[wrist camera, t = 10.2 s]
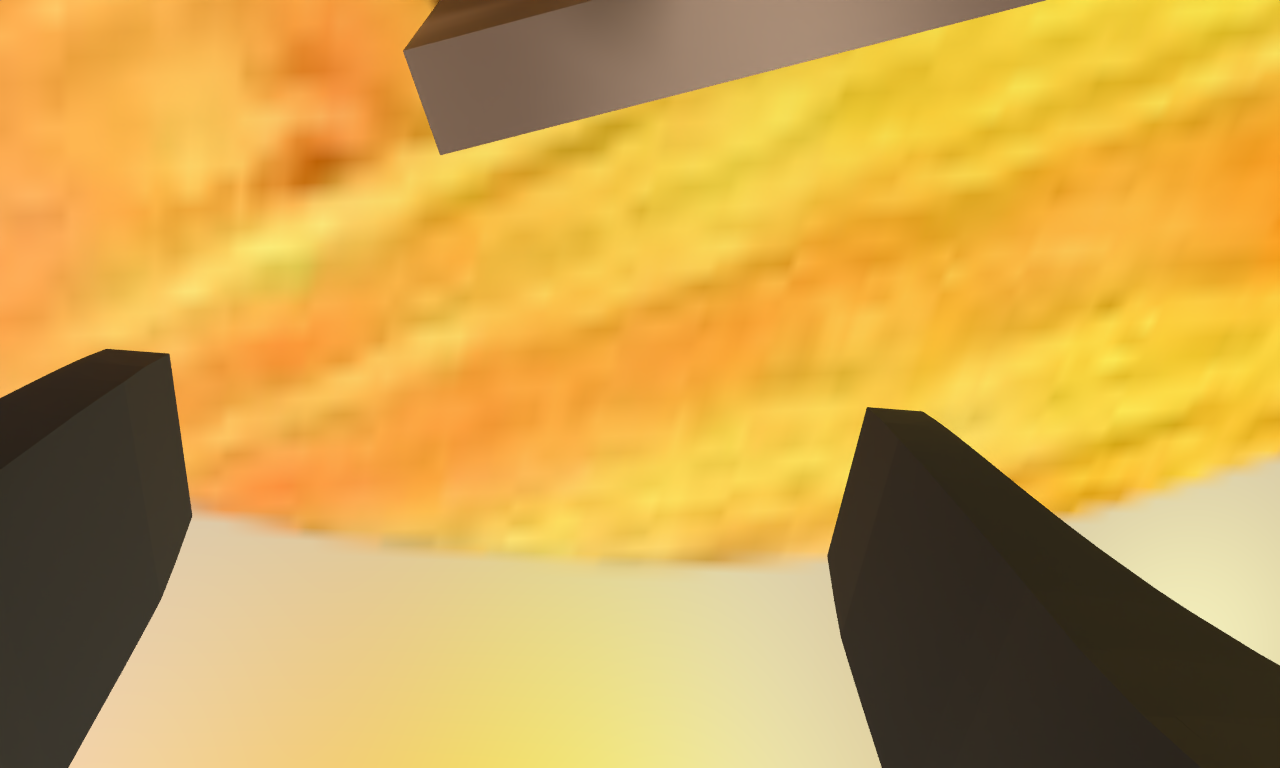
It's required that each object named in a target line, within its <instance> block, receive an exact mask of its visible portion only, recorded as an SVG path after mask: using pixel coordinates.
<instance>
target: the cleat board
mask: <svg viewBox="0 0 1280 768" xmlns="http://www.w3.org/2000/svg"><path fill="white" fill-rule="evenodd" d="M1041 1H1044V0H440V1H439V2H438V4H437V5H436V7H435V8H434V9H433V11H432V12H431V13H430V15H429V16H428V18H427V19H426V20H425V22H424V23H423V24H422V26H421V27H420V28H419V30H418V31H417V33H416V34H415V35H414V37H413V38H412V39H411V41H410V42H409V44H408V45H407V46H406V48H405V49H404V50H403V52H404V55H405V58H406V60H407V63H408V66H409V69H410V72H411V74H412V77H413V80H414V83H415V86H416V88H417V91H418V94H419V97H420V100H421V102H422V105H423V108H424V111H425V114H426V116H427V119H428V122H429V125H430V128H431V130H432V133H433V136H434V139H435V142H436V144H437V147H438V150H439V153H440V155H443V154H447V153H451V152H455V151H459V150H463V149H467V148H470V147H474V146H478V145H482V144H486V143H490V142H494V141H498V140H502V139H506V138H509V137H513V136H517V135H521V134H525V133H529V132H533V131H537V130H541V129H545V128H549V127H552V126H556V125H560V124H564V123H568V122H572V121H576V120H580V119H584V118H588V117H591V116H595V115H599V114H603V113H607V112H611V111H615V110H619V109H623V108H627V107H631V106H634V105H638V104H642V103H646V102H650V101H654V100H658V99H662V98H666V97H670V96H673V95H677V94H681V93H685V92H689V91H693V90H697V89H701V88H705V87H709V86H713V85H716V84H720V83H724V82H728V81H732V80H736V79H740V78H744V77H748V76H752V75H756V74H759V73H763V72H767V71H771V70H775V69H779V68H783V67H787V66H791V65H795V64H798V63H802V62H806V61H810V60H814V59H818V58H822V57H826V56H830V55H834V54H838V53H841V52H845V51H849V50H853V49H857V48H861V47H865V46H869V45H873V44H877V43H880V42H884V41H888V40H892V39H896V38H900V37H904V36H908V35H912V34H916V33H920V32H923V31H927V30H931V29H935V28H939V27H943V26H947V25H951V24H955V23H959V22H962V21H966V20H970V19H974V18H978V17H982V16H986V15H990V14H994V13H998V12H1002V11H1005V10H1009V9H1013V8H1017V7H1021V6H1025V5H1029V4H1033V3H1037V2H1041Z"/></svg>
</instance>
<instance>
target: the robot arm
mask: <svg viewBox="0 0 1280 768" xmlns="http://www.w3.org/2000/svg"><path fill="white" fill-rule="evenodd" d="M191 518H192V511H191V504H190V497H189V489H188V482H187V475H186V468H185V461H184V454H183V447H182V440H181V433H180V426H179V419H178V412H177V405H176V397H175V390H174V383H173V376H172V369H171V362H170V355H169V354H166V353H153V352H140V351H127V350H114V349H105V350H102V351H100V352H97V353H95V354H92V355H89V356H87V357H85V358H82V359H80V360H78V361H75V362H73V363H71V364H69V365H67V366H65V367H62V368H60V369H58V370H56V371H54V372H52V373H50V374H48V375H46V376H44V377H42V378H40V379H38V380H36V381H34V382H32V383H30V384H28V385H26V386H24V387H22V388H20V389H18V390H16V391H14V392H12V393H10V394H8V395H6V396H4V397H2V398H0V768H68V767H69V765H70V763H71V762H72V760H73V758H74V756H75V755H76V753H77V751H78V749H79V748H80V746H81V744H82V742H83V740H84V738H85V737H86V735H87V733H88V731H89V729H90V728H91V726H92V724H93V722H94V720H95V719H96V717H97V715H98V713H99V712H100V710H101V708H102V706H103V705H104V703H105V701H106V699H107V697H108V696H109V694H110V692H111V690H112V688H113V687H114V685H115V683H116V681H117V679H118V677H119V676H120V674H121V672H122V671H123V669H124V667H125V665H126V663H127V661H128V660H129V658H130V656H131V654H132V652H133V650H134V649H135V647H136V645H137V643H138V641H139V639H140V638H141V636H142V634H143V632H144V630H145V628H146V627H147V625H148V622H149V621H150V619H151V617H152V615H153V614H154V612H155V610H156V608H157V606H158V604H159V602H160V600H161V598H162V596H163V593H164V590H165V588H166V585H167V583H168V580H169V578H170V575H171V573H172V570H173V568H174V565H175V563H176V560H177V557H178V554H179V552H180V548H181V546H182V543H183V540H184V538H185V535H186V532H187V529H188V526H189V523H190V521H191ZM827 556H828V563H829V569H830V576H831V583H832V589H833V596H834V601H835V607H836V613H837V618H838V624H839V629H840V635H841V639H842V642H843V646H844V649H845V652H846V656H847V659H848V662H849V666H850V669H851V672H852V675H853V678H854V682H855V684H856V688H857V691H858V694H859V697H860V701H861V704H862V707H863V710H864V713H865V716H866V720H867V723H868V726H869V729H870V732H871V735H872V738H873V742H874V745H875V747H876V751H877V754H878V757H879V760H880V763H881V766H882V768H1280V665H1278V664H1276V663H1274V662H1273V661H1271V660H1269V659H1267V658H1265V657H1264V656H1262V655H1260V654H1258V653H1257V652H1255V651H1254V650H1252V649H1250V648H1249V647H1247V646H1245V645H1244V644H1242V643H1241V642H1239V641H1237V640H1236V639H1234V638H1232V637H1231V636H1229V635H1228V634H1226V633H1224V632H1223V631H1221V630H1219V629H1218V628H1216V627H1214V626H1213V625H1211V624H1210V623H1208V622H1206V621H1205V620H1203V619H1202V618H1200V617H1198V616H1197V615H1195V614H1193V613H1192V612H1190V611H1189V610H1187V609H1186V608H1184V607H1182V606H1181V605H1179V604H1178V603H1176V602H1175V601H1173V600H1171V599H1170V598H1169V597H1167V596H1166V595H1164V594H1163V593H1161V592H1160V591H1158V590H1157V589H1155V588H1154V587H1152V586H1151V585H1150V584H1148V583H1147V582H1145V581H1144V580H1142V579H1141V578H1140V577H1138V576H1137V575H1136V574H1134V573H1133V572H1131V571H1130V570H1129V569H1127V568H1126V567H1124V566H1123V565H1121V564H1120V563H1118V562H1117V561H1116V560H1115V559H1113V558H1112V557H1110V556H1109V555H1108V554H1106V553H1105V552H1103V551H1102V550H1100V549H1099V548H1098V547H1096V546H1095V545H1094V544H1092V543H1091V542H1090V541H1089V540H1087V539H1086V538H1085V537H1083V536H1082V535H1081V534H1079V533H1078V532H1077V531H1075V530H1074V529H1073V528H1071V527H1070V526H1069V525H1067V524H1066V523H1065V522H1064V521H1062V520H1061V519H1060V518H1058V517H1057V516H1056V515H1054V514H1053V513H1052V512H1051V511H1049V510H1048V509H1047V508H1046V507H1044V506H1043V505H1042V504H1041V503H1039V502H1038V501H1037V500H1036V499H1034V498H1033V497H1032V496H1030V495H1029V494H1028V493H1027V492H1026V491H1024V490H1023V489H1022V488H1021V487H1019V486H1018V485H1017V484H1016V483H1014V482H1013V481H1012V480H1011V479H1009V478H1008V477H1007V476H1006V475H1004V474H1003V473H1002V472H1001V471H1000V470H998V469H997V468H996V467H995V466H993V465H992V464H991V463H990V462H988V461H987V460H986V459H985V458H984V457H982V456H981V455H980V454H979V453H977V452H976V451H975V450H974V449H972V448H971V447H970V446H969V445H967V444H966V443H965V442H964V441H962V440H961V439H960V438H959V437H957V436H956V435H955V434H953V433H952V432H951V431H950V430H948V429H947V428H946V427H944V426H943V425H942V424H940V423H939V422H937V421H936V420H935V419H933V418H932V417H930V416H929V415H927V414H926V413H924V412H922V411H909V410H896V409H883V408H870V407H867V409H866V413H865V417H864V421H863V424H862V428H861V432H860V436H859V439H858V443H857V447H856V451H855V454H854V458H853V462H852V466H851V469H850V473H849V477H848V481H847V484H846V488H845V492H844V495H843V499H842V503H841V507H840V510H839V514H838V518H837V522H836V525H835V529H834V533H833V537H832V540H831V544H830V548H829V552H828V555H827Z"/></svg>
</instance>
